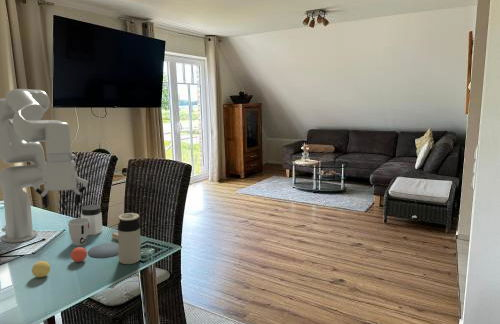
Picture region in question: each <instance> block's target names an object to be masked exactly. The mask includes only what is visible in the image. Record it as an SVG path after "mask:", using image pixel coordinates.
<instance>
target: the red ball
mask: <svg viewBox="0 0 500 324" xmlns="http://www.w3.org/2000/svg"><path fill="white" fill-rule="evenodd" d="M87 256H88V251H87V250H86V249H85V248H84V247H81V246H78V247H75V248H74V249H73V250H71V253H70V258H71V260H72V261H74V262H75V263H81V262H83V261H85V259H86V258H87Z"/></svg>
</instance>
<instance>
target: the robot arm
mask: <svg viewBox="0 0 500 324" xmlns="http://www.w3.org/2000/svg"><path fill="white" fill-rule="evenodd" d="M50 104H51V102H50V97H49V95H48V94H47V93H46V92H45V91H44V90H41V89H31V88H30V89H28V88H16V89H11V90H9V91H8V92H7V93H6V94H5V97H4V98H0V159H1V161H2V162H3V163H5V164H19V163H21V164H22V163H29V162H30V163H31V164H25V165H14V166H9V167H5V168H2V170H0V187H1V192H2V197H3V207H4V218H5V219H4V220H5V226H4V227H3V228H1V232H5V234H4V235H3V236H2V241H3V242H4V243H10V244H11V243H13V244H14V243H22V242H26V241H29V240H32V239H34V238H36V237H37V236H38V231H36V230H34V229H33V216H32V204H31V203H32V202H31V196H30V195H29V193H27V192H26V191H25V190H24V189H25V188H29V187H32V188H33V189H34V190H35V192H36V193H37V194H38V195H40V196H41V199H42V205H43V206H44V208H45V209H47V208H49V206H50V197H49V194H48V193H49V192H58V191H59V192H63V191H73V192H74V193H75V196H74V197H75V206H76V207H78V206H79V205H80V204H81V203H82V196H81V195H82V193H83V192H84V191H85V190H86V188H87V187H88V184H89V181H88V180H87V179H84V178H81V177H80V176H78V171H77V165H76V162H75V160H73V159H77V154H75V153H72V142H71V127H70V124H69V123H68V122H65V121H61V120H59V119H58V120H57V119H42V118H43V116H44V113H46V112H47V111H48V110H49V108H50ZM44 142H45V151H46V152H45V151H44V147H43V145H42V143H44ZM45 153H46V154H45ZM45 155H46V157H45ZM45 158H46V159H45ZM79 183H80V184H82V186H81V187H78V185H79ZM41 185H43V189H42V188H40V186H41Z"/></svg>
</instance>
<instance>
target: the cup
mask: <svg viewBox="0 0 500 324" xmlns="http://www.w3.org/2000/svg"><path fill="white" fill-rule="evenodd" d="M67 226H68V233H69V235H70V236H69V237H70V240H71V242H72V244H73V246H78V247H81V246H84V245H86V244H87V241H88V239H89V235H88V234H89V219H87V218H81V217H76V218H72V219H70V220H68V221H67Z"/></svg>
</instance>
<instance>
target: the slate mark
mask: <svg viewBox="0 0 500 324" xmlns="http://www.w3.org/2000/svg"><path fill="white" fill-rule="evenodd" d="M87 256H89V257H91V258H96V259H106V258H112V257H113V258H114V257H115V256H119V243H118V242H117V243H116V242H107V243H101V244H96V245H94V246H92V247H91V248H89V249H88V251H87Z"/></svg>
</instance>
